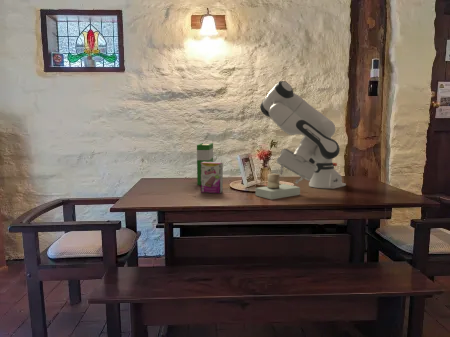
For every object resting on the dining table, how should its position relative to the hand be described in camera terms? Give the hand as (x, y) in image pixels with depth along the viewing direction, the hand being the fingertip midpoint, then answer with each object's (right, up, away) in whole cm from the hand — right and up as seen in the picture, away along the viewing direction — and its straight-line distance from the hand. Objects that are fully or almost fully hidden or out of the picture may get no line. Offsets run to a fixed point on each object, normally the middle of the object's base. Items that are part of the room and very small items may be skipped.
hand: (288, 178), depth 197 cm
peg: (-8, -8, 0) cm, 11 cm away
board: (-5, -9, +1) cm, 10 cm away
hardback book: (-45, -4, +40) cm, 60 cm away
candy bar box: (-40, -8, +9) cm, 42 cm away
